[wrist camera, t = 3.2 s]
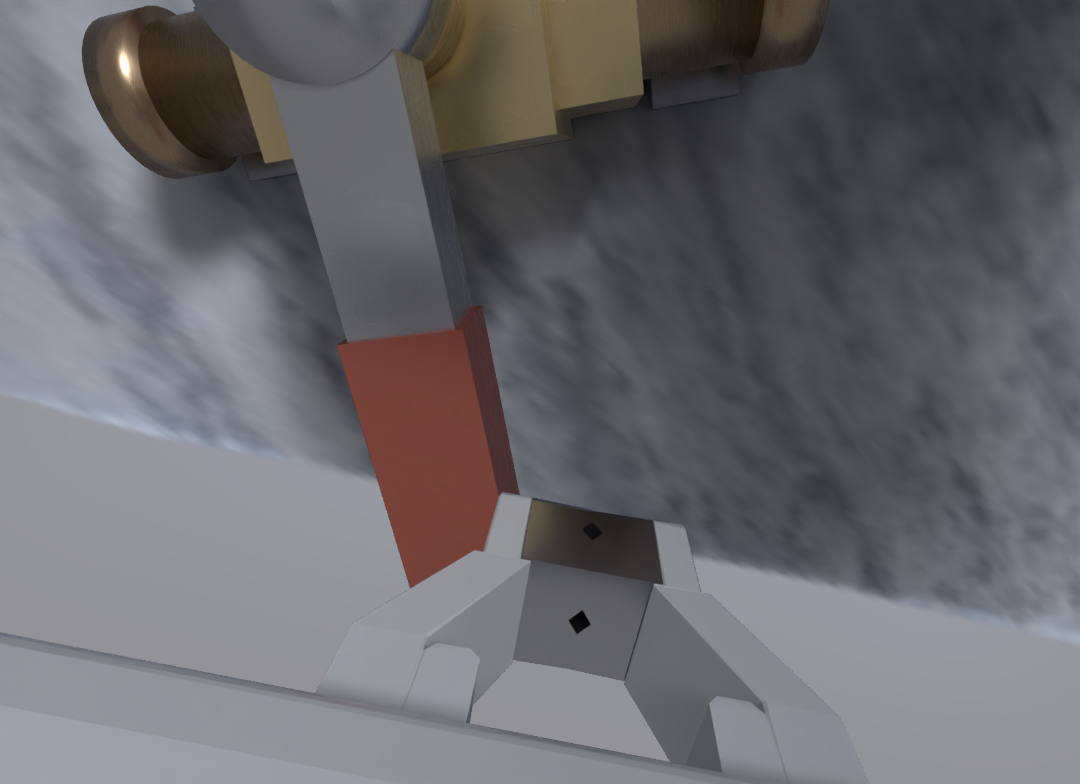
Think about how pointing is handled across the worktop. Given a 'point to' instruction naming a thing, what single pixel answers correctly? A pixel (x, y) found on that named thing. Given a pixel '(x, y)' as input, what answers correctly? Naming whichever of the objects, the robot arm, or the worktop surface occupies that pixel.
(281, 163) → the valve fixture
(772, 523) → the worktop surface
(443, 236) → the lever
